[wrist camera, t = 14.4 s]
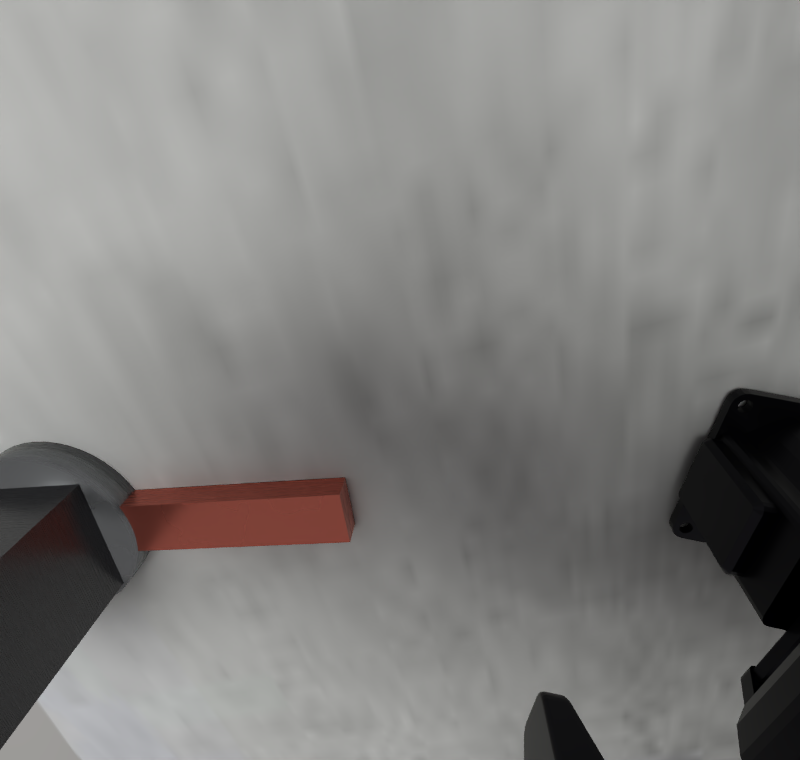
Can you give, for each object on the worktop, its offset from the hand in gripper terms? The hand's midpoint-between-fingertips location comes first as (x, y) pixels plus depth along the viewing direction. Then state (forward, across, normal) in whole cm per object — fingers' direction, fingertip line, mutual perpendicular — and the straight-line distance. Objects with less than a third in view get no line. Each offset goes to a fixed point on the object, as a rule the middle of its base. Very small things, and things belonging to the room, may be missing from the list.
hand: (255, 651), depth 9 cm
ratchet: (+13, +8, +10) cm, 18 cm away
